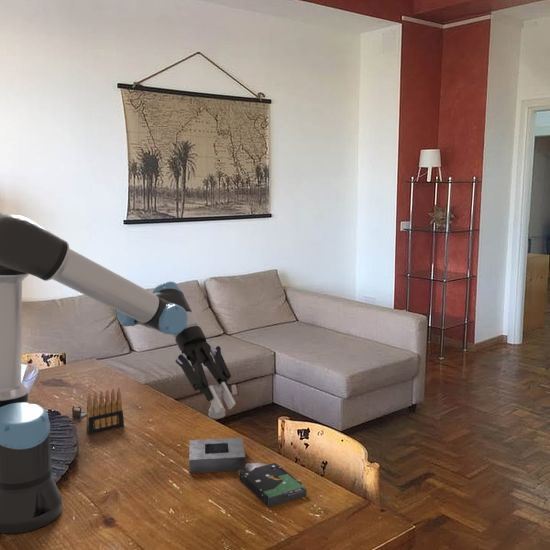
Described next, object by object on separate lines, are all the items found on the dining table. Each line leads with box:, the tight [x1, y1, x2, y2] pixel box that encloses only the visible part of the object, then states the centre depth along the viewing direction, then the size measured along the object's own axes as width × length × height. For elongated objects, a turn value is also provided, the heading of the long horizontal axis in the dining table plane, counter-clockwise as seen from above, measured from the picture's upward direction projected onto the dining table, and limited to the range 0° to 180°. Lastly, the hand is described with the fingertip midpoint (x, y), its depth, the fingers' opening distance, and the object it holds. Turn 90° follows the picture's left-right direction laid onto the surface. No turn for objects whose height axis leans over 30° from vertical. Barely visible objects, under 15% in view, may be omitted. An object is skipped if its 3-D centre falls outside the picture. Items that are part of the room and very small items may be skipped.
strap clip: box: [70, 405, 87, 424], centre depth 185 cm, size 8×3×4 cm, turn 166°
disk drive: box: [239, 462, 308, 508], centre depth 142 cm, size 10×3×15 cm
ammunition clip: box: [86, 387, 125, 435], centre depth 176 cm, size 11×2×12 cm, turn 125°
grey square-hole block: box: [188, 437, 246, 474], centre depth 156 cm, size 12×14×4 cm
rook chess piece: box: [208, 384, 226, 420], centre depth 154 cm, size 4×4×8 cm
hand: (226, 408), depth 151 cm, fingers closed on rook chess piece, 3 cm apart
